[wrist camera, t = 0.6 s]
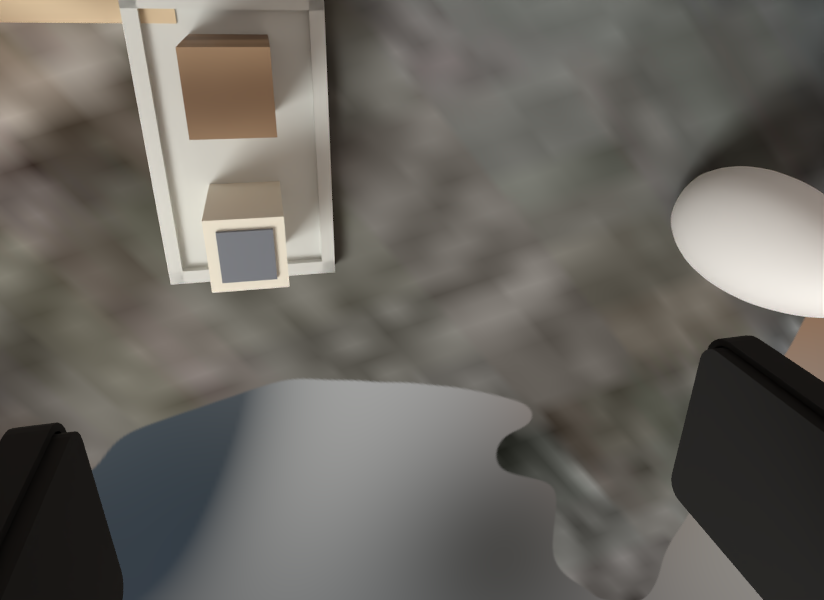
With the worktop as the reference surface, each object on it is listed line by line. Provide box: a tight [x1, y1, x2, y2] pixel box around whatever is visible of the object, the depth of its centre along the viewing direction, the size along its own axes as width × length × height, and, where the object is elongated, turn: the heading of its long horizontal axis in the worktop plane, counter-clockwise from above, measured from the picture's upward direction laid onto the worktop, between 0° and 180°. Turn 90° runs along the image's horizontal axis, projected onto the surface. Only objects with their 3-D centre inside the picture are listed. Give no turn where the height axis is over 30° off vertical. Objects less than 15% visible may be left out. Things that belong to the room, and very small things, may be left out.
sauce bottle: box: [671, 166, 824, 318], centre depth 36 cm, size 8×8×18 cm
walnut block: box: [175, 34, 277, 140], centre depth 30 cm, size 4×4×6 cm
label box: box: [202, 181, 290, 293], centre depth 34 cm, size 4×4×6 cm
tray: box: [118, 0, 335, 284], centre depth 35 cm, size 16×10×1 cm, turn 178°
